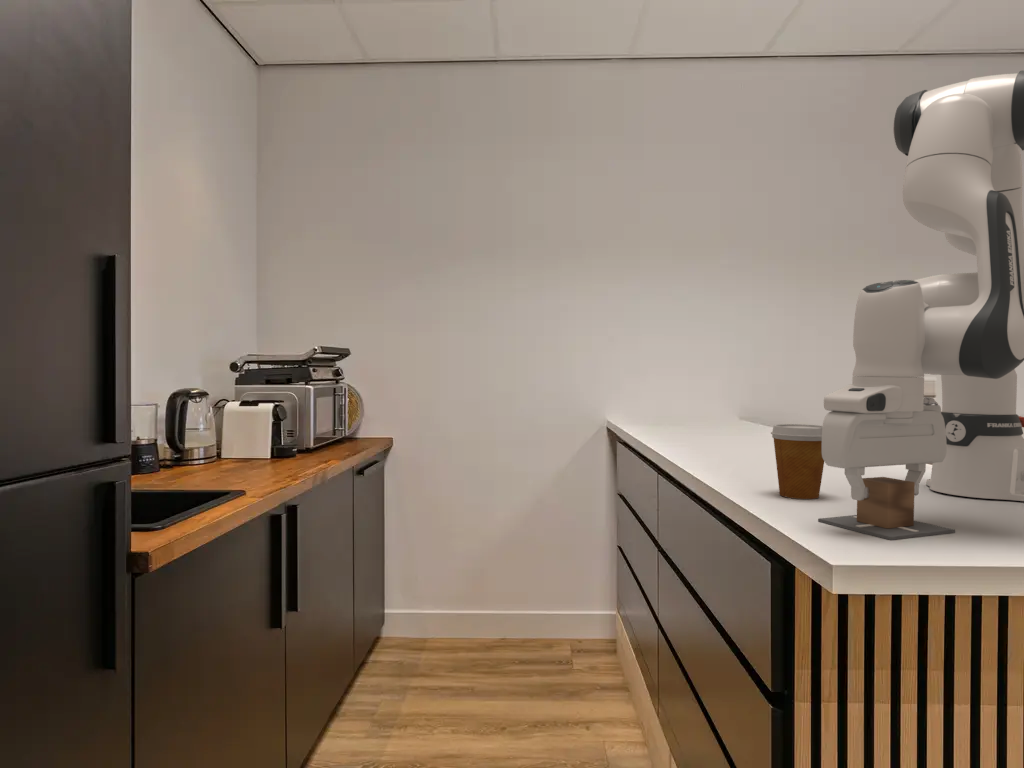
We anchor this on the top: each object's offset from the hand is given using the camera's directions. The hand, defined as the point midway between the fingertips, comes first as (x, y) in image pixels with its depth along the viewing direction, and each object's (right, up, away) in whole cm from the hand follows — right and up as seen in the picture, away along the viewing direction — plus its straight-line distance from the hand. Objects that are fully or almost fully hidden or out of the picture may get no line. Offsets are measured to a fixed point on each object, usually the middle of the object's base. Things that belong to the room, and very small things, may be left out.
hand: (885, 497), depth 101 cm
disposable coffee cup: (-2, -4, +24) cm, 24 cm away
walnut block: (0, -4, 0) cm, 4 cm away
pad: (0, -4, 0) cm, 4 cm away
